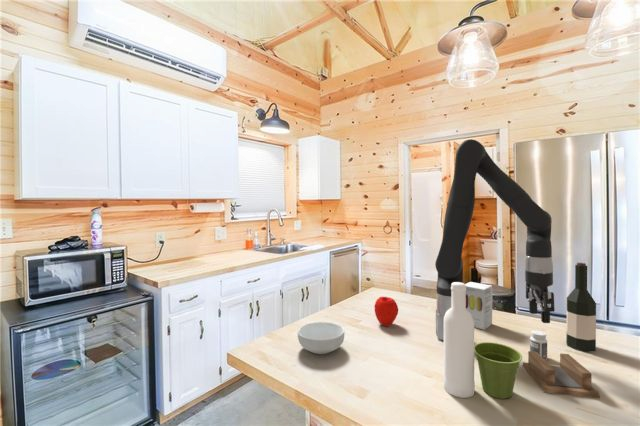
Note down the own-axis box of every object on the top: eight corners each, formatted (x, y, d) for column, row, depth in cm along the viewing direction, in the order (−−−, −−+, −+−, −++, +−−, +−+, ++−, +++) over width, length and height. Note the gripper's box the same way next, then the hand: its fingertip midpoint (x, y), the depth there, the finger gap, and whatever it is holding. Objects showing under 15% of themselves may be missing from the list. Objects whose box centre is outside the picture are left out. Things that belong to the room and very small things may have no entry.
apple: (401, 322, 136) (400, 295, 135) (393, 330, 127) (393, 301, 127) (379, 318, 141) (379, 292, 141) (371, 326, 133) (370, 297, 132)
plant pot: (466, 378, 92) (466, 341, 92) (508, 380, 91) (508, 342, 91) (483, 404, 81) (483, 361, 80) (531, 406, 79) (532, 363, 79)
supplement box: (461, 323, 133) (460, 285, 133) (469, 318, 140) (469, 281, 139) (484, 330, 126) (484, 289, 126) (493, 324, 133) (493, 285, 132)
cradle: (544, 392, 85) (544, 372, 85) (522, 365, 99) (522, 348, 99) (599, 397, 82) (599, 377, 82) (569, 369, 96) (569, 352, 96)
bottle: (438, 382, 91) (438, 280, 90) (464, 380, 91) (464, 279, 90) (452, 399, 83) (452, 288, 82) (480, 397, 83) (480, 286, 82)
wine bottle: (602, 353, 106) (603, 265, 105) (574, 351, 108) (574, 265, 107) (586, 342, 114) (587, 261, 113) (560, 340, 116) (561, 260, 115)
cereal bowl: (351, 343, 117) (350, 325, 116) (334, 364, 102) (333, 343, 101) (310, 336, 124) (310, 318, 124) (289, 355, 109) (288, 335, 108)
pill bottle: (544, 355, 105) (544, 330, 105) (549, 361, 101) (549, 336, 101) (528, 353, 107) (528, 329, 107) (532, 359, 103) (532, 334, 102)
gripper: (517, 265, 111) (517, 310, 111) (536, 274, 97) (536, 325, 97) (541, 265, 109) (541, 311, 110) (563, 274, 95) (564, 326, 96)
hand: (539, 317), depth 104 cm, fingers open, 8 cm apart
